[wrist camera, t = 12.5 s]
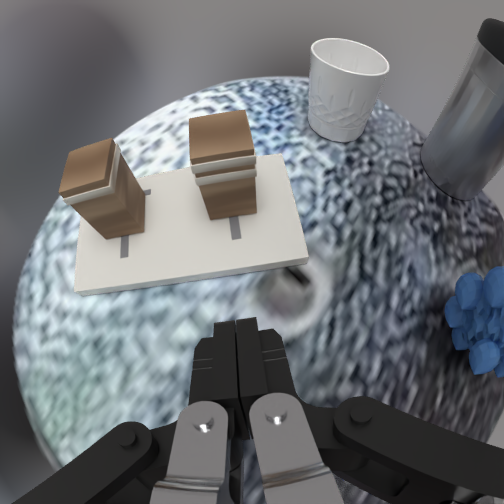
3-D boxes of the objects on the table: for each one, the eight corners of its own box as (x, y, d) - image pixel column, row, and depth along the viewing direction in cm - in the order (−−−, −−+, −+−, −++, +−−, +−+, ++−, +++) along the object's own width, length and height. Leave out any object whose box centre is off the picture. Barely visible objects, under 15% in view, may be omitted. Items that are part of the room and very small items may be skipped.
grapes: (394, 335, 22) (485, 303, 11) (432, 281, 23) (514, 223, 12) (464, 409, 18) (556, 412, 7) (495, 354, 20) (581, 331, 9)
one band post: (145, 232, 24) (104, 180, 17) (104, 240, 24) (57, 194, 17) (146, 193, 26) (113, 136, 18) (108, 202, 26) (68, 151, 18)
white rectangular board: (306, 263, 24) (309, 256, 23) (82, 296, 24) (73, 291, 22) (281, 162, 29) (281, 152, 27) (91, 199, 28) (84, 191, 27)
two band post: (258, 213, 24) (255, 149, 17) (209, 221, 24) (188, 160, 17) (250, 174, 26) (246, 108, 19) (205, 182, 26) (187, 118, 19)
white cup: (289, 115, 32) (294, 44, 22) (336, 97, 33) (348, 34, 24) (333, 156, 29) (353, 81, 20) (379, 133, 30) (404, 69, 21)
